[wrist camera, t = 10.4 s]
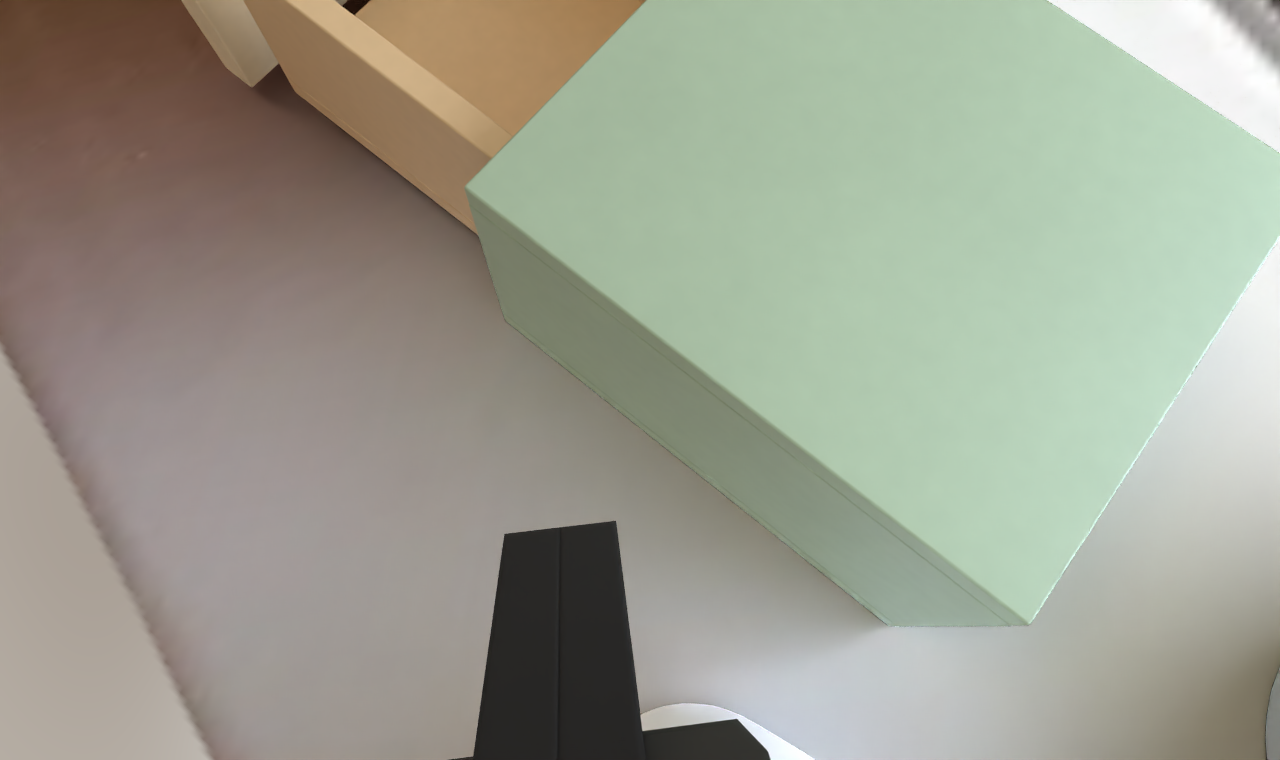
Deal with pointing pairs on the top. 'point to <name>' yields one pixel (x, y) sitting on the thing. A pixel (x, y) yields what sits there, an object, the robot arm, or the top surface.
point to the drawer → (417, 70)
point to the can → (780, 751)
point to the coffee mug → (1273, 722)
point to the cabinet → (883, 272)
